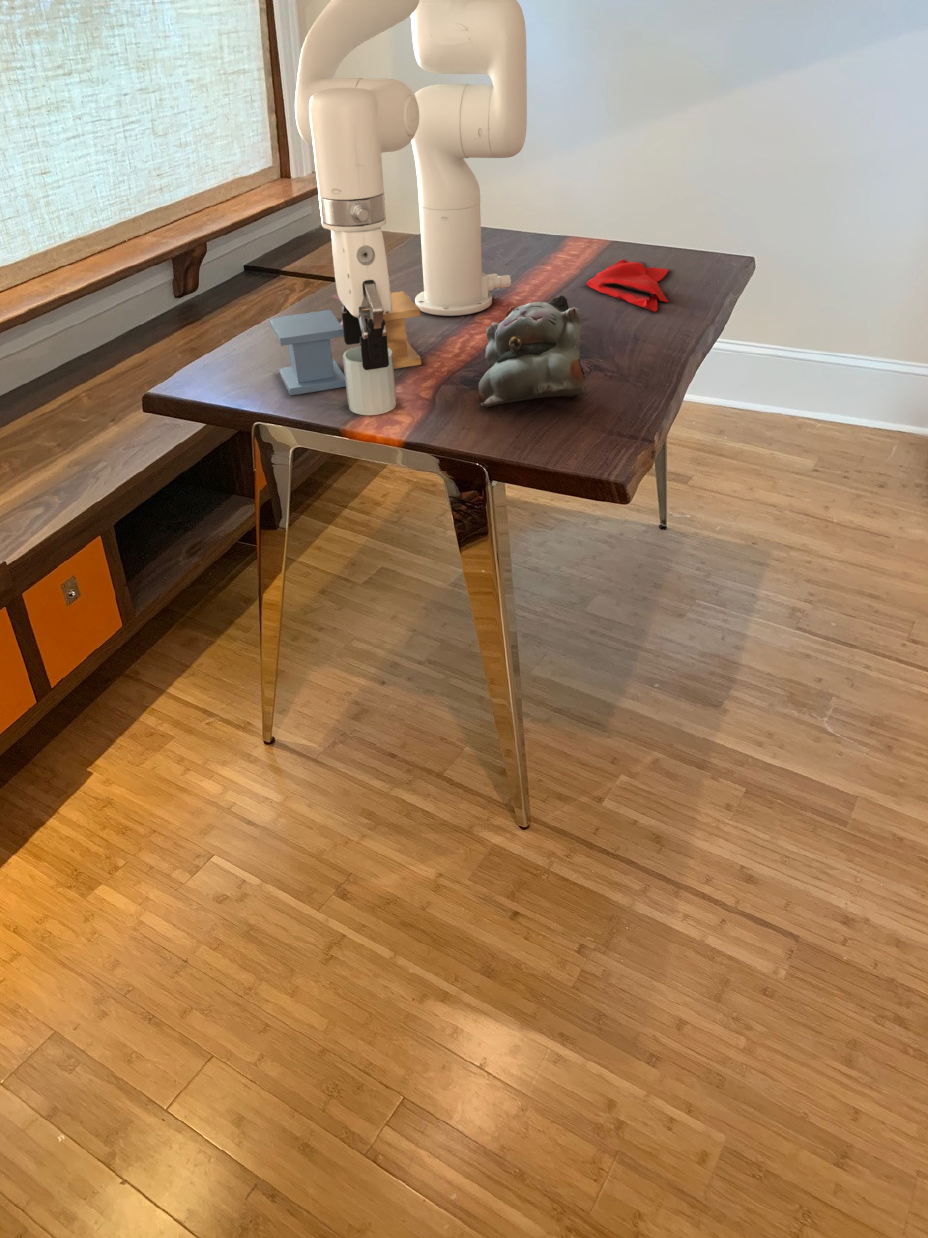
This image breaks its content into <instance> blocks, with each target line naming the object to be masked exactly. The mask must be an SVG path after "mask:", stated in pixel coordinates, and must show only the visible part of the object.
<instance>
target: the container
mask: <svg viewBox="0 0 928 1238" xmlns="http://www.w3.org/2000/svg"><path fill="white" fill-rule="evenodd" d="M388 358H389V366H388V367H385V368H378V369H371V370H365V369H364V368H363V366H362V355H361V345H357V346H354V347H351V348H348V349H347V350H345V351H344V352H343V354H342V364H343V374H344V375H345V381H346V387H345V388H346V397H347V398H346V399H347V405H348V409H349V410H350V412H352V413H353V414H356V415H362V416H378V415H382V414H387V413H388V412H390V411H393V410H394V409H395V408H396V406H397V391H396V380H395V378H396V377H395V369H394V366H393V354H392V351H391V349H390V348H388Z"/></svg>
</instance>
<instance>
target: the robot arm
mask: <svg viewBox="0 0 928 1238" xmlns="http://www.w3.org/2000/svg"><path fill="white" fill-rule="evenodd" d="M409 17H410V24H411V38H412V46H413V53H414V57H415V60H416V63H417V65H418V66H419V67H420V69H421V70H423V71H425V72H427V73H429V74H430V73H431V74H436V75H437V74H438V75H487V76H488V77H489V78H490V80H491V83H492V84H490V83H489V84H470V83H440V84H439V83H438V84H432V85H428V86H425V87H422V88H420V89H418V90H417V91H416V92H415V93H414V92H413V90H412V89H411V87H409V85H407V84H406V83H404V82H403V81H402V80H398V79H394V78H363V77H334V76H335V74H336V72H337V70H338V69H339V66H341V63H342V62H343V61H344V59H345V58H346V57H347V56H348V55H349V54H350V53H351V52H352V51H353V50H355V49H356V48H358V47H359V46H361V45H362V44H364V43H365V42H367V41H369V40H370V39H373V38H374V37H376V36H378V35H380V34H381V33H384V32H386V31H388V30H389V29H391V28H393V27H395V26H396V25H398V24H400V23H401V22H404V21H405V20H406V19H407V18H409ZM525 21H526V20H525V15H524V12H523V9H522V6H521V4H520V3H519V2H518V0H330V1H329V2H328V3H327V4H326V5H325V6H324V8H323V10H322V11H320V13H319V15H318V17H317V18H316V19H315V21H314V22H313V24H312V26H311V27H310V29H309V30H308V32H307V34H306V36H305V39H304V41H303V43H302V47H301V50H300V55H299V62H298V71H297V77H296V86H295V87H296V88H295V97H294V114H295V116H294V118H295V124H296V128H297V130H298V133H299V135H300V137H301V139H302V140H303V141H304V143H305V144H307V145H308V146H309V147H311V148H312V149H313V156H314V157H313V158H314V166H315V167H314V168H315V175H316V184H317V192H318V201H319V202H318V203H319V211H320V218H321V219H320V220H321V227H322V228H323V229H325V230H328V231H330V239H331V252H332V262H333V272H334V281H335V287H336V293H337V295H338V296H339V299H340V300H339V302H340V301H341V302H340V308H341V311H342V312H341V321H342V322H343V326H342V327H343V332H344V337H343V340H344V343H345V344H346V345H347V346H350V345H356V344H357V345H358V344H359V346H361V355H362V366H363V368H364V369H365V370H371V369H378V368H385V367H388V366H389V358H388V345H387V334H386V327H385V322H384V321H385V320H384V319H383V311H384V312H385V313H386V314H389V313H390V312H391V311H392V300H391V293H392V292H391V284H390V283H391V282H390V275H389V267H388V259H387V252H386V251H387V250H386V246H385V241H384V234H383V231H382V227H383V226H384V225H386V224H387V212H386V199H385V189H384V188H385V187H384V174H383V159H382V154H383V153H390V152H391V153H393V152H397V151H400V150H402V149H404V148H406V147H407V146H408V145H409V144H410V143H411V147H412V153H413V157H414V158H413V159H414V163H415V164H414V165H415V171H416V182H417V194H418V211H419V212H418V213H419V227H420V228H419V229H420V243H421V244H420V245H421V246H420V247H421V262H422V275H423V276H422V278H423V279H422V280H423V291H420V292H419V293H418V294H417V295H416V296H415V298H414V303H415V304H416V305H417V306H418V307H419V308H420V312H423V313H425V314H429V315H433V316H442V317H458V316H466V315H472V314H476V313H480V312H482V311H485V310H487V309H488V308H489V307H490V306H491V305H492V304H493V295H492V293H491V292H493V291H494V289H506V288H511V286H512V278H511V276H510V275H509V274H504V275H498V273H490V274H486V273H485V272H484V271H483V264H482V263H483V261H482V258H483V257H482V222H481V220H482V219H481V216H482V215H481V188H480V185H479V181H478V179H477V177H476V175H475V174H474V172H473V170H472V168H470V166H469V165H468V163H467V162H466V160H465V159H472V158H474V159H508V158H512V157H515V156H516V155H518V154H519V153H520V152H521V151H522V149H523V147H524V145H525V141H526V136H527V125H528V93H527V92H528V89H527V88H528V85H527V84H528V83H527V82H528V78H527V71H528V70H527V67H528V66H527V30H526V22H525ZM369 308H370V310H363V309H369ZM368 318H371V319H369V320H368Z"/></svg>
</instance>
